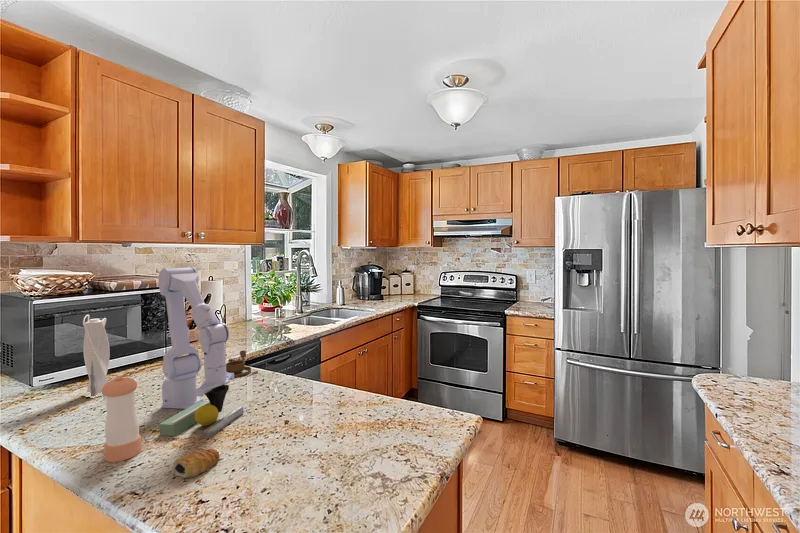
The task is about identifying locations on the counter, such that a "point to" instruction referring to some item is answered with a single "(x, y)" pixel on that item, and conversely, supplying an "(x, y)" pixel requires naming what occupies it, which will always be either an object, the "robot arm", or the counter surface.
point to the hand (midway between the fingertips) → (217, 411)
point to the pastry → (195, 463)
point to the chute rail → (223, 422)
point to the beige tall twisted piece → (96, 354)
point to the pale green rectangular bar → (180, 420)
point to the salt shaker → (121, 420)
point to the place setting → (239, 366)
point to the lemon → (206, 415)
